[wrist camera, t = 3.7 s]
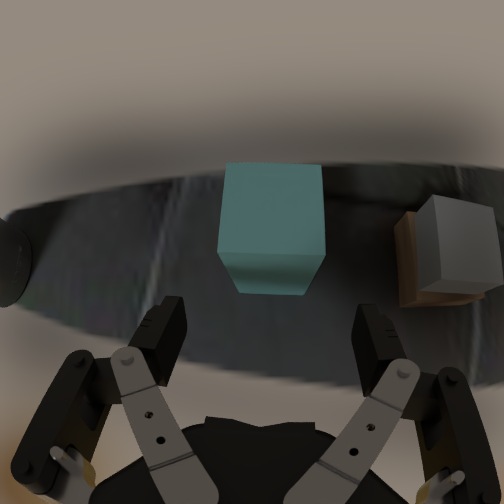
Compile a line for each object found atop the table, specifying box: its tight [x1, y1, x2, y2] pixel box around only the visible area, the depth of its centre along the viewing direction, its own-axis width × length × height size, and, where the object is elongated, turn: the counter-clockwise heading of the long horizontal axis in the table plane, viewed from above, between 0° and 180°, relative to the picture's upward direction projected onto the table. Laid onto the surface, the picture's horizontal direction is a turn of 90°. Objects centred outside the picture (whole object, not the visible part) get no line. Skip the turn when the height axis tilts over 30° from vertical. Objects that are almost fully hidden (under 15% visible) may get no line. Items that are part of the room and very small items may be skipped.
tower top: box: [414, 195, 504, 294], centre depth 18 cm, size 6×6×4 cm
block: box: [217, 163, 326, 295], centre depth 19 cm, size 5×5×10 cm
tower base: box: [393, 212, 485, 307], centre depth 22 cm, size 7×7×4 cm
